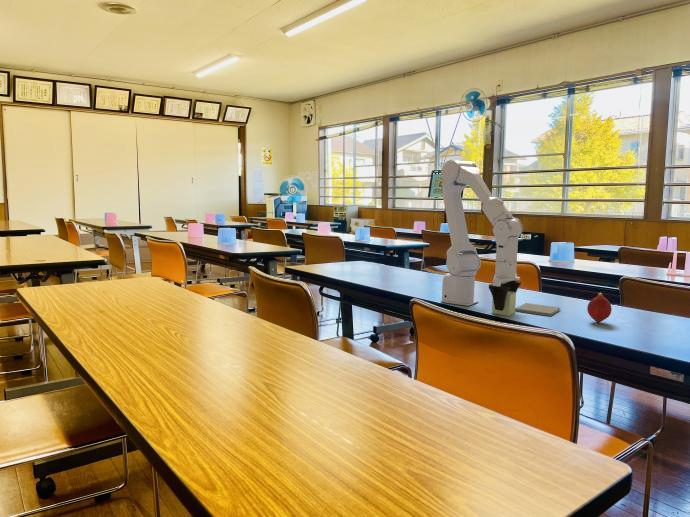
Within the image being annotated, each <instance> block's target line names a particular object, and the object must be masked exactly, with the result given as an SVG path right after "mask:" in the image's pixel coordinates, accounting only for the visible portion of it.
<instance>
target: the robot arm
mask: <svg viewBox="0 0 690 517" xmlns="http://www.w3.org/2000/svg"><path fill="white" fill-rule="evenodd" d="M440 177H441V180H442V186H441V187H442V188H441V189H442V190H441V193H442V197H443V198H442V199H443V203H444V204H443V205H444V209H445V210H444V211H445V214H446V222H447V225H448V226H447V227H448V231H449V232H448V233H449V237H450V243H451V246H450V247H449V248H448V249H447V250H446V262H445V265H446V269H447V270H448V273H445V274H444V276H443V278H442V286H441V300H440V302H441V303H448V304H454V305H460V306H467V307H470V306H472V305H475V304H476V303H479V302H480V301H479V300H477V299H475V287H476V286H475V283H476V275H477V272H478V271H479V270H480V268H481V265H482V259H481V257H480V255H479V254H478V252H477V247H475V246H474V245H473V244H472V243H471V242H470V237H469V233H468V228H467V221H466V216H465V211H464V205H463V199H462V195H461V194H462V193H463V190H465V189H466V188H467V187H468V186H469V188H470V189H471V190H472V192H473V193H474V194H475V195H476V197H477V198H478V199H479V200H480V202H481V203H482V207H481V208H482V209H481V210H482V211H483V213H484V214H485V216H486V218H487V219H488V220H489V222H490V223H491V225H492V226H493V228H492V233H493V236H494V237H495V243H496V248H495V249H496V251H495V269H494V270H495V272H494V276H493V279H492V283H490V284H488V289H489V292H490V293H491V296H492V301H494V307H495V310H500V311H503V309H504V305H505V299H506V296H507V293H508V291H510V292H516V293H517V291H518V290H519V287H520V286H521V284H522V283H521V282H522V281H520V280H521V277H520V276H518V273H517V264H518V250H519V249H518V248H519V247H518V244H519V238H520V236H522V234H523V233H524V232H523V231H524V226H523V223H522V221H521V219H519V218H517V217H514V216H513V214H512V213H511V212H510V211H509V210H508V208H507V207H506V206H505V205H504V203H505V201H504V200H503V199H501V198H499V197H494V196H493V194H492V193H491V191H490V189H489V187H488V186H487V184H486V182H485V181H484V179H483V177H482V175H481V170H480V168H479V167H478V166H477V164H476V162H474V161H472V160H469V161H463V160H454V159H449V160H447V161H446V162H445V163H444V165H443V166H442V168H441V170H440Z"/></svg>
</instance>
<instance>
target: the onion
mask: <svg viewBox="0 0 690 517" xmlns="http://www.w3.org/2000/svg"><path fill="white" fill-rule="evenodd" d="M612 308H613V307H612V305H611V302H610V301H609V300H608V299H607V298H606V297H605V296H604V295H603V293H602V292H598V294H597V296H595V297H593V298H592V299H591V300H590V301H589V302H588V304H587V307H586V309H587V310H586V312H587V313H588V315H589V317H590V318H591V319H592V320H593V321H595V322H596V323H601V322H603V321H604V320H607V319H608V318H609V317H610V316H611V314H612V310H613V309H612Z"/></svg>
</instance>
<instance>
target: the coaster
mask: <svg viewBox="0 0 690 517" xmlns="http://www.w3.org/2000/svg"><path fill="white" fill-rule="evenodd" d="M560 310H561V307H559V306H553V305H552V306H551V305H544V304H537V303H536V304H535V303H528V302H524V303H523V304H521V305H519V306H517V307H515V312H519V313H526V314H533V315H540V316H545V317H552V316H553V315H555V314H556V313H558V312H560Z"/></svg>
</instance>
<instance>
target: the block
mask: <svg viewBox="0 0 690 517" xmlns="http://www.w3.org/2000/svg"><path fill="white" fill-rule="evenodd" d="M516 301H517V292H510V291H508V293H507V296H506V299H505V305H504V309H503V311H500V310H495V307H494V301H493V300H492V301H491V303H492V304H491V306H492V307H491V313H492V314H496V315H503V316H511V315H514V314H515V313H516V311H515V308H516V305H517V304H516Z"/></svg>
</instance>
